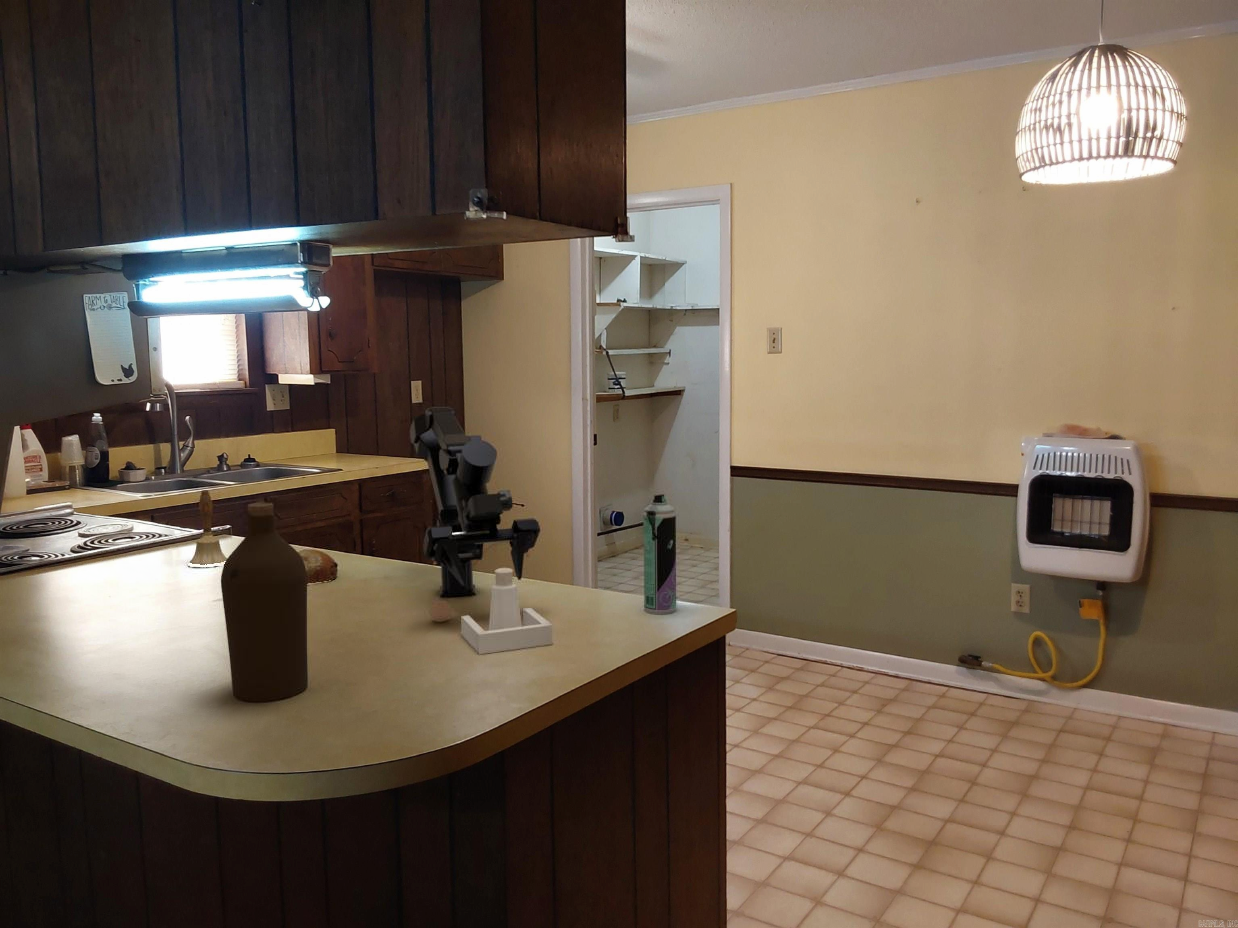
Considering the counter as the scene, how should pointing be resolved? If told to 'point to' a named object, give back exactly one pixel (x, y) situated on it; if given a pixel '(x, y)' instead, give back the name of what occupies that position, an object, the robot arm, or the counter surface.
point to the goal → (508, 634)
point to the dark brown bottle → (265, 612)
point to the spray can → (659, 557)
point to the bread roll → (318, 565)
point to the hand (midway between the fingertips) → (492, 581)
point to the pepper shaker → (504, 602)
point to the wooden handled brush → (207, 536)
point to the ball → (440, 611)
